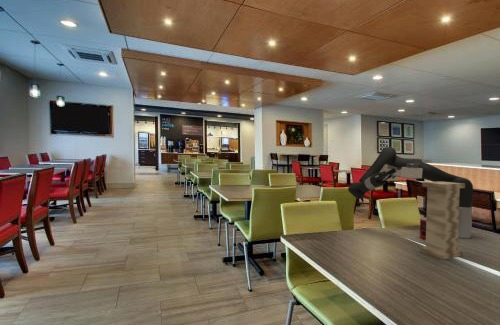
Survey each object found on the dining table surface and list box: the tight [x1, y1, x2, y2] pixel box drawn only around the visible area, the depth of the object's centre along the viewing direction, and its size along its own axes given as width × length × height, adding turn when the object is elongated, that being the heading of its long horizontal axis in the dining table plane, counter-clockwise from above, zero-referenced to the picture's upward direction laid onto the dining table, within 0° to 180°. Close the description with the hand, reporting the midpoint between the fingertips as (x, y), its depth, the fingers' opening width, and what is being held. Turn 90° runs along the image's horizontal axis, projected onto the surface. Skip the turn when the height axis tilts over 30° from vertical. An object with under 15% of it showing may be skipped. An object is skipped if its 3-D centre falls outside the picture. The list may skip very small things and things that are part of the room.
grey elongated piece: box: [385, 163, 423, 179], centre depth 143 cm, size 6×18×7 cm, turn 21°
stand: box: [419, 181, 465, 261], centre depth 125 cm, size 14×10×33 cm
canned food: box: [419, 216, 427, 241], centre depth 148 cm, size 8×8×11 cm
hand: (397, 169), depth 146 cm, fingers closed on grey elongated piece, 3 cm apart
